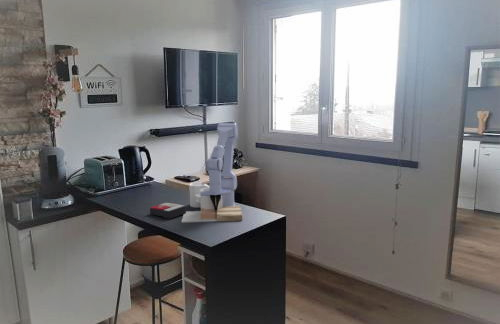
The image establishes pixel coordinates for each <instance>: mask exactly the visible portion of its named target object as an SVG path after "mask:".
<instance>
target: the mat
mask: <svg viewBox="0 0 500 324" xmlns="http://www.w3.org/2000/svg"><path fill="white" fill-rule="evenodd" d="M182 215H183V216H182V219H181V223H182V224H183V223H184V224H186V223H204V222H205V223H208V222H211V223H212V222H218V221H217V214H216V219H201V210H193V211H190V210H189V211H188V210H186V213H185V214H182Z"/></svg>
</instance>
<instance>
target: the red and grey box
mask: <svg viewBox="0 0 500 324" xmlns="http://www.w3.org/2000/svg"><path fill="white" fill-rule="evenodd" d="M186 211H187V209H186V205H182V204H179V203H178V204H177V203H171V202H164V203H160V204H159V205H158V204H157V205H153V206H150V208H149V214H150V215H152V216H153V215H154V216H159V217H163V218H164V219H168V220H169V219H173V218H175V217H178V216H181V215H184V214H185V213H186Z"/></svg>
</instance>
